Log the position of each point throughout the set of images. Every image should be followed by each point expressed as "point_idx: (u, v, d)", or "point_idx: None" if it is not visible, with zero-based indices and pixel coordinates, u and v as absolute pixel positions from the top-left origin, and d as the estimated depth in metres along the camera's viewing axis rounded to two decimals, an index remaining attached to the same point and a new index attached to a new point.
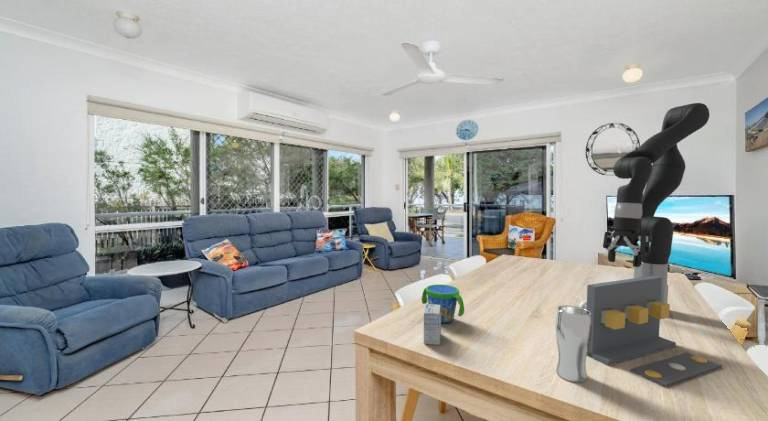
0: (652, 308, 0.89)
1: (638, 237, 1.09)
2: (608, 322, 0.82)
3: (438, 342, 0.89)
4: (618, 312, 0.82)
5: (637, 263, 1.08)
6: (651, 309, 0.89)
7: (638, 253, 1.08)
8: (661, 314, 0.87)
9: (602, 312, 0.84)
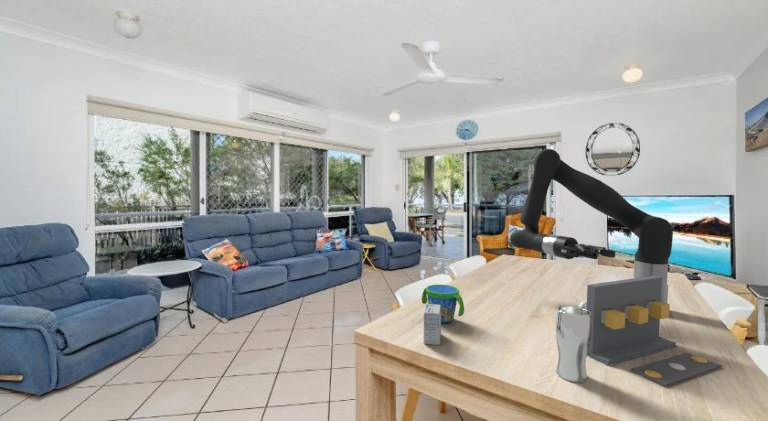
0: (652, 308, 0.89)
1: None
2: (608, 322, 0.82)
3: (438, 342, 0.89)
4: (618, 312, 0.82)
5: None
6: (651, 309, 0.89)
7: (580, 256, 1.05)
8: (661, 314, 0.87)
9: (602, 312, 0.84)
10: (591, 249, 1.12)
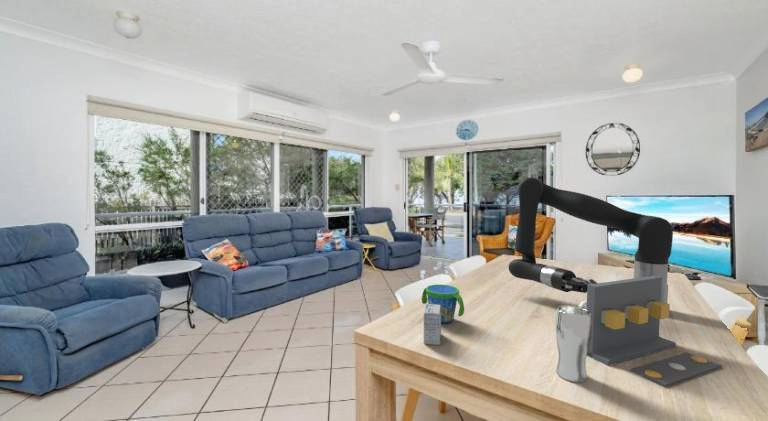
0: (652, 308, 0.89)
1: None
2: (608, 322, 0.82)
3: (438, 342, 0.89)
4: (618, 312, 0.82)
5: None
6: (651, 309, 0.89)
7: None
8: (661, 314, 0.87)
9: (602, 312, 0.84)
10: None
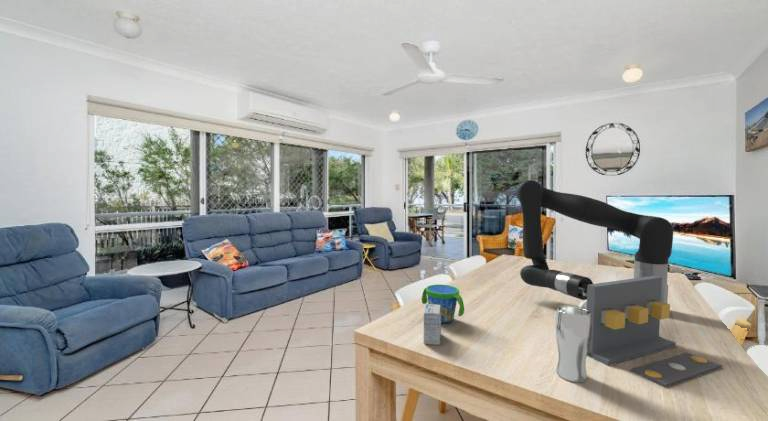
0: (652, 308, 0.89)
1: None
2: (608, 322, 0.82)
3: (438, 342, 0.89)
4: (618, 312, 0.82)
5: None
6: (651, 309, 0.89)
7: None
8: (662, 314, 0.87)
9: (602, 312, 0.84)
10: None
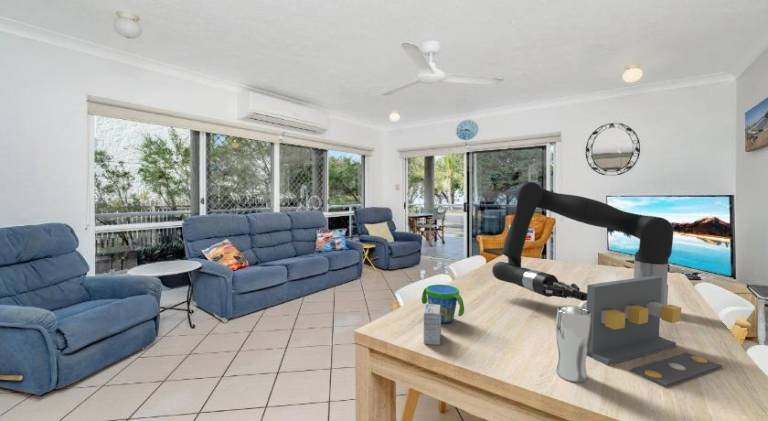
0: (663, 311, 0.87)
1: None
2: (608, 322, 0.82)
3: (438, 342, 0.89)
4: (618, 312, 0.82)
5: (579, 298, 1.00)
6: (662, 312, 0.87)
7: (570, 297, 1.03)
8: (673, 317, 0.85)
9: (602, 312, 0.84)
10: None
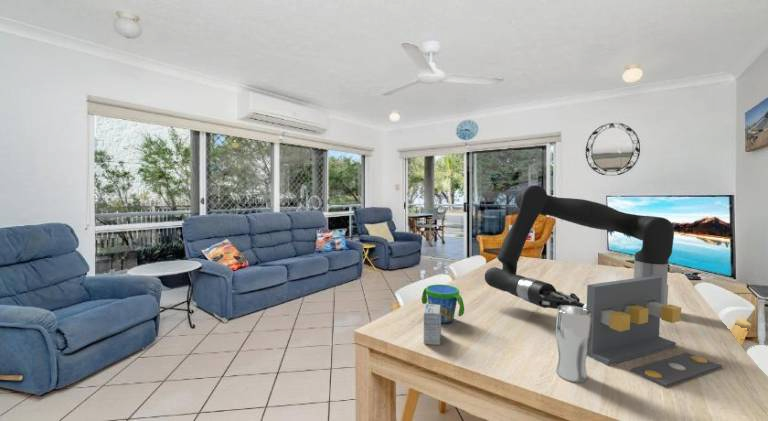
0: (663, 311, 0.87)
1: None
2: (613, 324, 0.81)
3: (438, 342, 0.89)
4: (623, 314, 0.81)
5: None
6: (662, 312, 0.87)
7: None
8: (673, 317, 0.85)
9: (607, 314, 0.83)
10: None
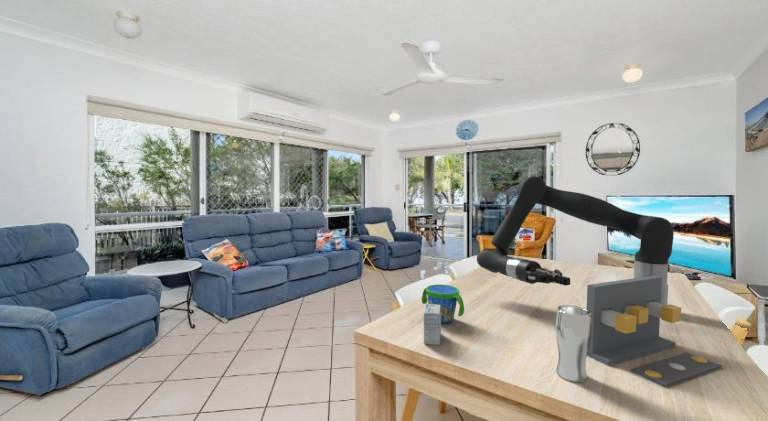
0: (663, 311, 0.87)
1: None
2: (619, 326, 0.80)
3: (438, 342, 0.89)
4: (629, 316, 0.80)
5: (562, 283, 0.98)
6: (662, 312, 0.87)
7: (553, 282, 1.01)
8: (673, 317, 0.85)
9: (612, 315, 0.81)
10: None
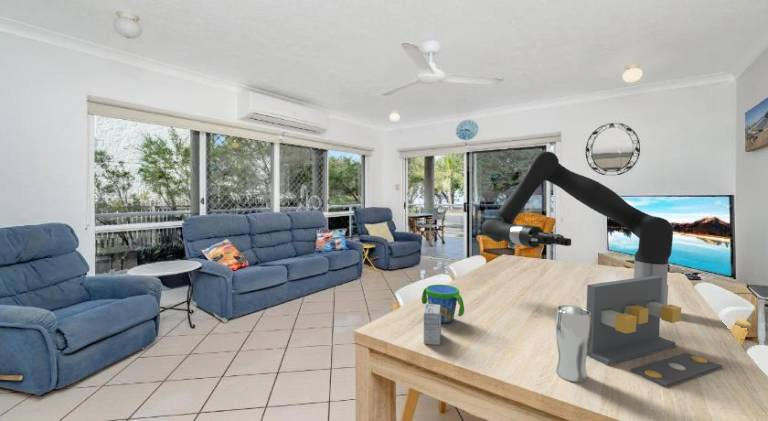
0: (663, 311, 0.87)
1: None
2: (619, 326, 0.80)
3: (438, 342, 0.89)
4: (629, 316, 0.80)
5: (563, 244, 1.03)
6: (662, 312, 0.87)
7: (554, 243, 1.06)
8: (673, 317, 0.85)
9: (612, 315, 0.81)
10: None
